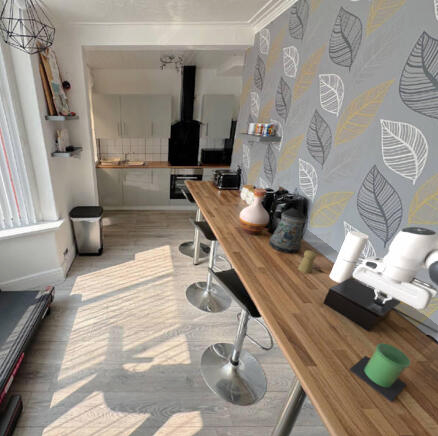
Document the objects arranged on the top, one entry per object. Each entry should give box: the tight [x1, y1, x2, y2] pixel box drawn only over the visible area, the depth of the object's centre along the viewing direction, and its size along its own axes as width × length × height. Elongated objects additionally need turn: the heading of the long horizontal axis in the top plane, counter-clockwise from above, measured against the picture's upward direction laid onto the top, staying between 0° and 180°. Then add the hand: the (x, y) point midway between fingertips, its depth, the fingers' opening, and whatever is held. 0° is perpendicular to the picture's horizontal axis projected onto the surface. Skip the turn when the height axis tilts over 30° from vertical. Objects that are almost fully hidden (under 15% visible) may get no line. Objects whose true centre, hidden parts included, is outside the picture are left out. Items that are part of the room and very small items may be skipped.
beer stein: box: [269, 206, 307, 255], centre depth 138 cm, size 16×19×25 cm
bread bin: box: [323, 289, 393, 332], centre depth 94 cm, size 16×16×8 cm
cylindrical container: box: [329, 230, 370, 284], centre depth 109 cm, size 7×7×25 cm
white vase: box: [239, 187, 270, 236], centre depth 154 cm, size 20×18×30 cm
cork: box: [297, 249, 318, 274], centre depth 118 cm, size 6×6×11 cm
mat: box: [349, 355, 407, 403], centre depth 71 cm, size 10×10×1 cm
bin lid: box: [328, 277, 401, 317], centre depth 92 cm, size 16×16×1 cm
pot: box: [364, 342, 411, 388], centre depth 69 cm, size 7×7×10 cm
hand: (379, 301), depth 87 cm, fingers closed
